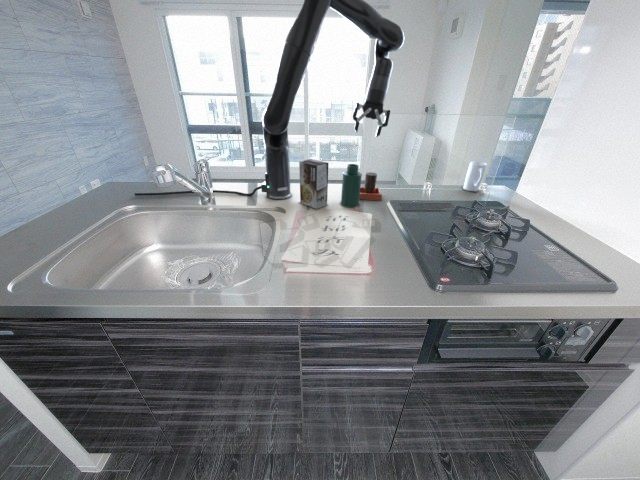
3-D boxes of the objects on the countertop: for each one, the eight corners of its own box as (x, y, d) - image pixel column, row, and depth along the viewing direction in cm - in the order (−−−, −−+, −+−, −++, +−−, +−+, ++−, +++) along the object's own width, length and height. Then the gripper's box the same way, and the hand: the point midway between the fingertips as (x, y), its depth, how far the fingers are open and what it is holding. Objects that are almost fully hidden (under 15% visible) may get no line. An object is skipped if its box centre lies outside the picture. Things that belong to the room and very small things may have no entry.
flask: (340, 206, 101) (343, 167, 93) (341, 200, 107) (343, 162, 99) (358, 207, 100) (362, 168, 93) (358, 201, 106) (362, 163, 99)
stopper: (363, 196, 110) (366, 175, 105) (363, 193, 114) (365, 172, 109) (374, 197, 109) (377, 175, 105) (373, 193, 113) (376, 172, 109)
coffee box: (327, 205, 102) (329, 162, 94) (316, 209, 98) (317, 165, 90) (311, 198, 107) (311, 158, 100) (299, 203, 103) (298, 160, 95)
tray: (357, 199, 108) (358, 193, 107) (357, 192, 116) (357, 186, 114) (380, 200, 108) (381, 194, 107) (378, 193, 115) (379, 188, 114)
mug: (460, 186, 126) (468, 161, 120) (475, 187, 126) (483, 161, 120) (468, 193, 118) (476, 166, 112) (484, 194, 117) (493, 167, 111)
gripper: (360, 84, 99) (349, 130, 105) (397, 92, 99) (384, 138, 105) (358, 88, 106) (348, 131, 112) (393, 96, 106) (381, 138, 112)
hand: (366, 134), depth 108 cm, fingers open, 8 cm apart
